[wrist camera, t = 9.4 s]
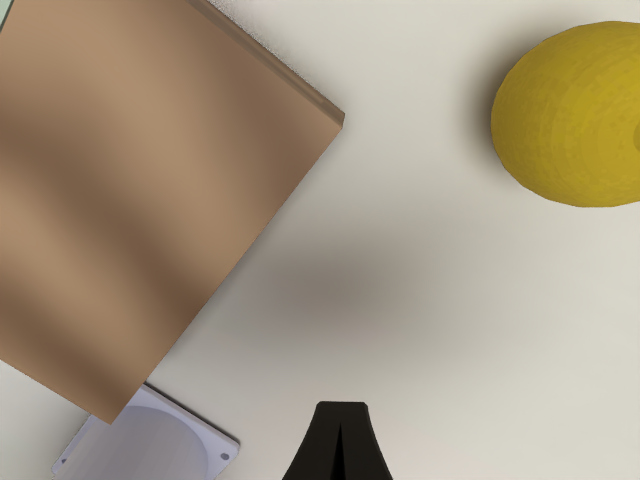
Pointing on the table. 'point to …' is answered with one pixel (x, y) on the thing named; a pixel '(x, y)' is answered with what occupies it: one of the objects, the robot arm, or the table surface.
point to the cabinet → (134, 180)
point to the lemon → (574, 116)
